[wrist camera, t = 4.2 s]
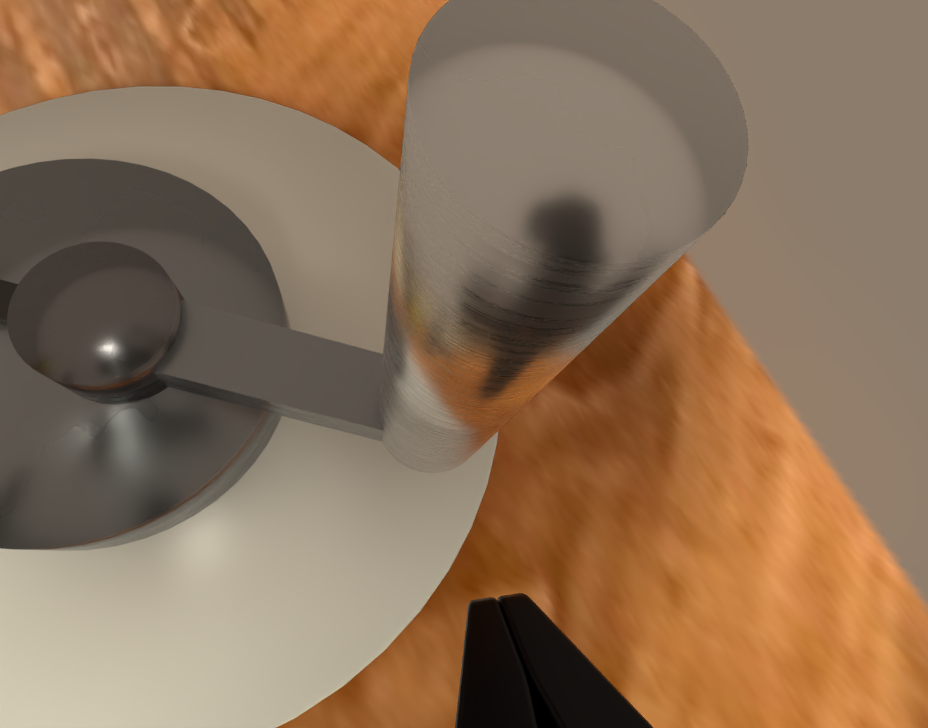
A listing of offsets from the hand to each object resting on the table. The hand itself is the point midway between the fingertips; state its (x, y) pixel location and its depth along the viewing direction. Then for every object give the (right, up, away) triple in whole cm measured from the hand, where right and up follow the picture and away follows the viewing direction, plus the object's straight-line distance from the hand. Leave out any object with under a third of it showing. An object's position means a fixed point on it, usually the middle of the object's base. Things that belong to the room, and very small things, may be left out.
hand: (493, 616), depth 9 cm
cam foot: (-8, +4, +6) cm, 11 cm away
